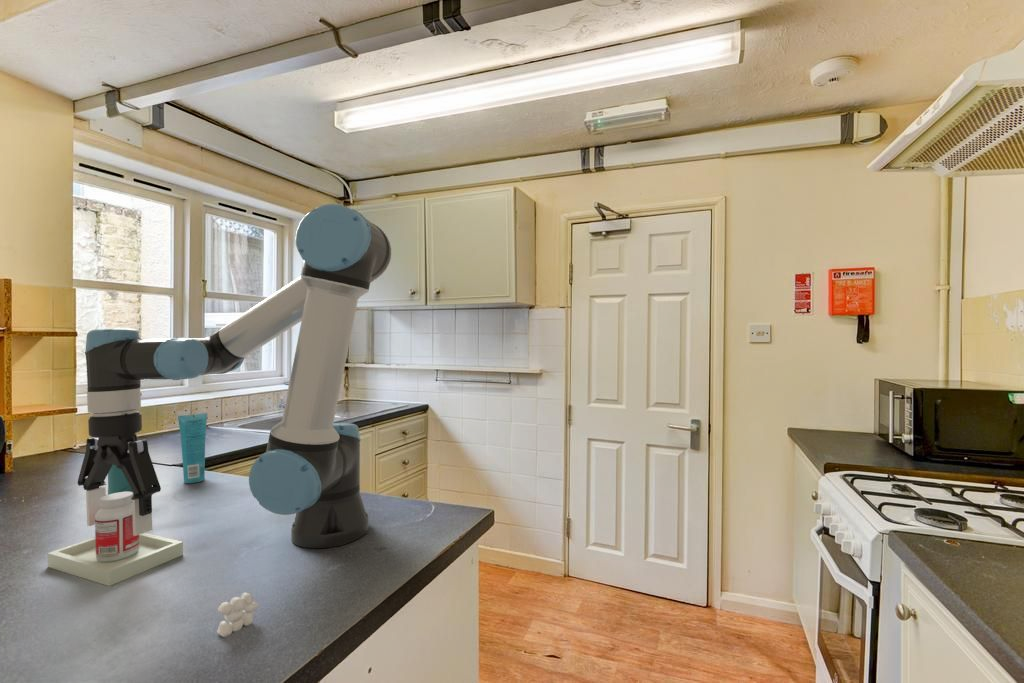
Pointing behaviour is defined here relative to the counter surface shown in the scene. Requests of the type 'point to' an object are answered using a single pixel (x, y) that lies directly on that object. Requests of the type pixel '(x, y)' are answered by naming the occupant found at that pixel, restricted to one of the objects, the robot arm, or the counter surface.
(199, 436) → the tube
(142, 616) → the counter surface
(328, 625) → the counter surface
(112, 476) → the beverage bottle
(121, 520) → the pill bottle
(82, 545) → the tray
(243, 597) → the white bumpy cluster
